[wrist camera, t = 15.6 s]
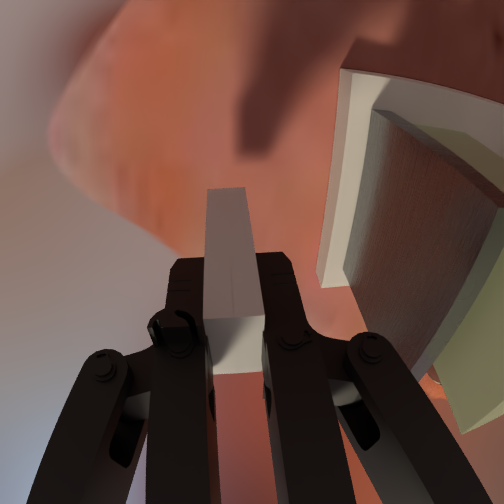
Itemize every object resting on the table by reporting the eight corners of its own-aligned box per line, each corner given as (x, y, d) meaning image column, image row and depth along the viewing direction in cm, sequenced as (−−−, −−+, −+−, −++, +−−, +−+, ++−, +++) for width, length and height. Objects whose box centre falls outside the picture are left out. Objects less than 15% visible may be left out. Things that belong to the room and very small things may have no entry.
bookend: (371, 108, 12) (498, 207, 6) (391, 111, 12) (520, 208, 6) (342, 268, 18) (391, 395, 11) (358, 267, 18) (411, 390, 12)
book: (411, 123, 13) (595, 294, 4) (464, 132, 13) (624, 278, 4) (379, 258, 18) (461, 434, 9) (426, 254, 18) (513, 408, 9)
